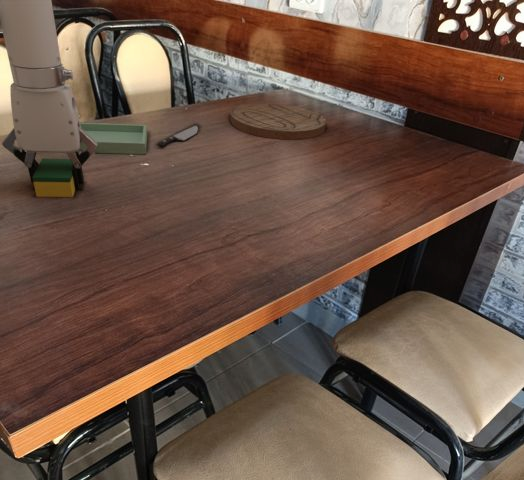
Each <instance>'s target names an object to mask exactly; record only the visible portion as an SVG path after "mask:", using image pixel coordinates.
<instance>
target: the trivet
mask: <svg viewBox="0 0 524 480" xmlns="http://www.w3.org/2000/svg"><path fill="white" fill-rule="evenodd" d="M230 124H231V125H232V126H233V127H234V128H235V129H237V130H239V131H241V132H244V133H246V134H250V135H253V136H257V137H262V138H267V139H275V140H292V141H293V140H305V139H311V138H315V137H318V136H321V135H322V134H323V133H324V132H326V124H327V120H326V118H325V117H324V115H322V114H320V113H318V112H316V111H314V110H311V109H308V108H304V107H301V106H295V105H292V104H291V105H290V104H283V103H269V102H260V103H259V102H257V103H247V104H242V105H239V106H236V107H235V108H233V109H231V111H230Z"/></svg>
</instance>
